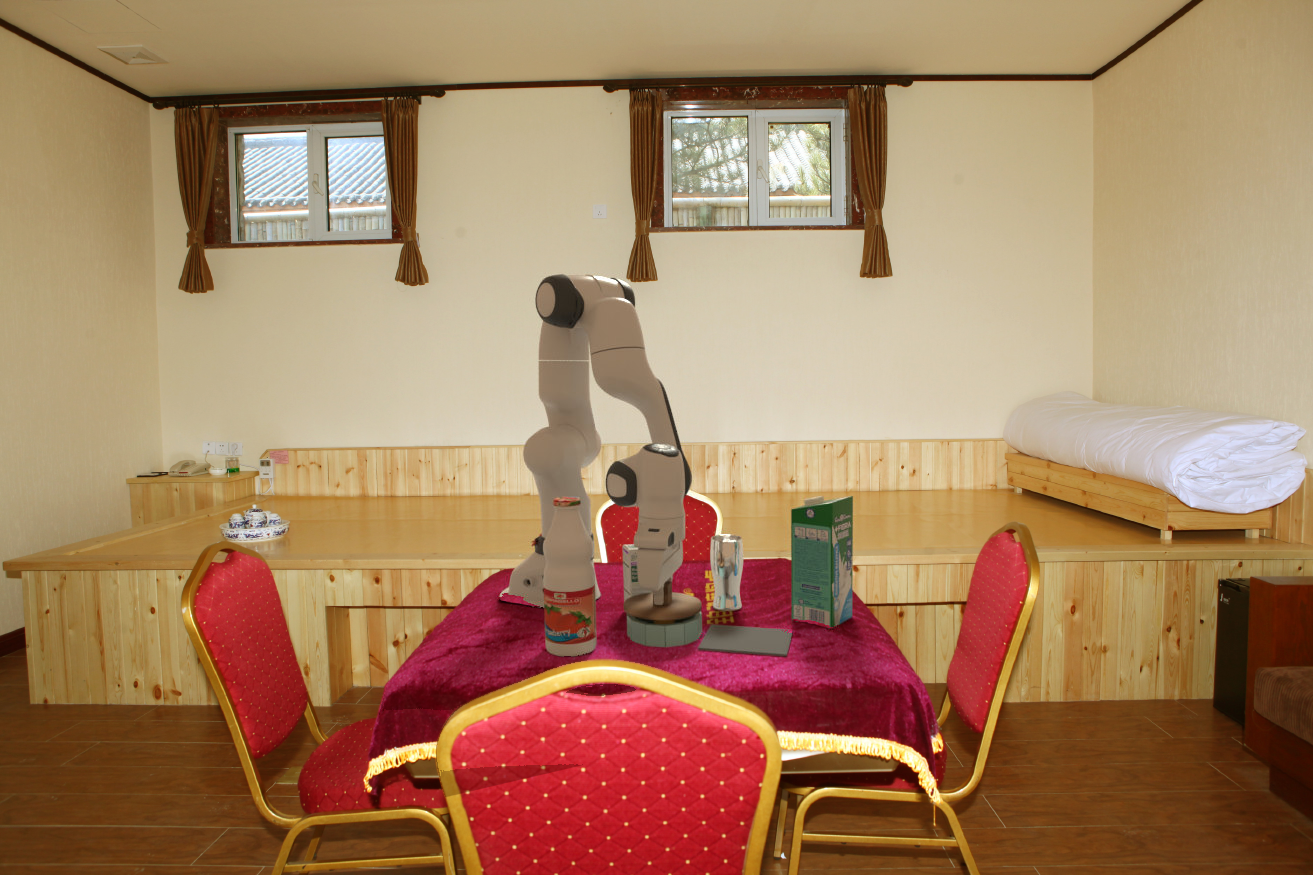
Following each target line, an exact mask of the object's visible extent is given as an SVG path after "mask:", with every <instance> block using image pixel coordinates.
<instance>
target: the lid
mask: <svg viewBox="0 0 1313 875" xmlns="http://www.w3.org/2000/svg"><path fill="white" fill-rule="evenodd" d="M663 591H664V594H665V602H664V603H663V604H662V605H656V604H654V595H653V592H652V593H644V594H639V595H635V596H632V597H630V598H628V599H627V600H625V602H623V610H624V612H625V613H626V615H627V614H629V615H631V616H634V617H637V618H642V619H648V620H676V619H683V618H687V617H691V616H693V615H695V614H697V613H699V612H700V611H701V612H702V609H703V607H702V601H701V600H700V599H699V598H698V597H695V596H693V595H691V594H687V593H682V592H673V581H672V582H671V581H666V582H665V583H664V587H663Z"/></svg>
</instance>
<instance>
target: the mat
mask: <svg viewBox="0 0 1313 875" xmlns="http://www.w3.org/2000/svg"><path fill="white" fill-rule="evenodd" d="M782 630H783V631H782ZM785 630H787V631H785ZM788 630H789V629H787V628H783V629H782V628H770V627H768V628H767V627H758V626H757V627H755V626H754V627H753V626H743V625H742V626H741V625H739V626H738V625H726V624H710V625H709V628H708V629H707V630H706V633H705V635H704V636H703V638H702V640H701V642H700V643H699V645H698V646H697V650H698V651H709V652H710V651H711V652H722V653H736V654H746V655H747V654H748V655H759V656H760V655H761V656H775V657H776V656H777V657H785V658H786V657H788V653H789V649H790V646H791V642H792V638H793V634H792V633H789V632H788ZM784 631H785V632H784ZM787 632H788V633H787ZM791 637H792V638H791Z"/></svg>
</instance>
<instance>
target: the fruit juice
mask: <svg viewBox="0 0 1313 875" xmlns="http://www.w3.org/2000/svg"><path fill="white" fill-rule="evenodd" d="M580 504H581V501H580V498H579V497H571V496H568V497H558V498H555V499H554V500H553V505H554V508H555V514H554V518H553V521H552V525H551V528H550V530H549V533H548V535H547V536H546V538H545V540H544V543H543V552H544V556H545V559H546V567H545V569H544V576H543V586H544V608H543V610H544V638H545V640H544V641H545V649H546V651H547V652H548V653H550V654H551V655H554V656H557V657H564V656H571V657H579V656H583V654H584V655H586V653H587V654H589V653H591V652H593V651H594V650H595V649H596V646H597V636H598V635H597V608H596V607H597V603H596V601H597V599H595V576H596V572H595V573H594V570H595V567H594V568H593V566H592V563H591V557H592V553H593V541H592V538H591V536H590V535H589V533H588V532H587V530H586V528H585V526H584V523H583V521H582V518H581V515H580V512H579V508H580ZM578 655H579V656H578Z"/></svg>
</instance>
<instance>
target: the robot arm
mask: <svg viewBox="0 0 1313 875" xmlns="http://www.w3.org/2000/svg"><path fill="white" fill-rule="evenodd" d="M534 299H535V308H536V312H537V313H538V315H539V318H540V319H541V321H542V324H541V328H540V335H539V344H538V396H539V399H540V401H541V402H542V404H543V406H544V409H545V413H546V417H547V418H546V419H547V420H548V426H545V427H542V428H541V429H539V430H537V431H536V432H534V433H533V434H532V435H530V437H529V438H528V439H527V440H526V442H525V443H524V445H523V452H522V456H523V462H524V464H525V465H526V467H527V468H528V471H530V472H531V473H532V476H533V478H534V482H535V485H536V488H537V493H538V497H539V504H540V517H541V518H540V521H541V533H540V534H539V535H538V536H537V537H535V538H534V540H532V541H531V543H532V544H531V547H534V552H532V553H531V554H530V555H529V556H528V557H526V558H525V559H524V560H523V561H522V562H520V563H519V564H518V565H516V567H515V568H514V569H513V570H512V572H511V574H510V579H509V585H508V587H506V588H505V589H503V590H502V591H501V593H500V594H499V597H502V596H503V595H502V594H504V593H508V594H509V595H515V596H521V597H524V598H523V600H524V601H526V602H528V603H531V604H534V605H537V606H540V607H539V608H541V607H543V609H544V586H543V576H544V569H545V567H546V559H545V556H544V552H543V543H544V540H545V538H546V536H547V535H548V533H549V530H550V528H551V525H552V521H553V518H554V514H555V508H554V505H553V500H554V499H555V498H558V497H568V496H571V497H579V498H580V501H581V504H580V508H579V512H580V515H581V518H582V521H583V523H584V526H585V528H586V530H587V532H588V533H589V535H590V536H591V538H592V541H593V553H592V557H591V563H592V566H593V568H594V573H595V574H596V570H595V562H594V559H595V540H594V533H593V531H592V507H591V506H592V504H591V503H592V502H591V498H590V496H589V494H588V493H587V492H586V491H587V490H586V489H585V485H584V480H583V477H582V469H585V468H587V467H589V466H590V465H591V464H592V463H593V462H594V461H595V460H596V459H597V457H598V456H599V454H600V453H601V449H602V439H601V436H600V434H599V432H598V431H597V429H596V428H597V427H596V424H595V420H594V419H595V418H594V414H593V410H592V403H591V394H590V364H591V371H592V375H593V378H594V381H595V383H596V384H597V386H598V387H599V388H600V389H601V390H602V391H603V392H604V393H605V394H607V395H609V396H610V397H612V398H613V399H617V400H619V401H623V402H624V403H626V404H629V405H632V406H633V407H635V408H636V409H637V410H638V411H639V412H641V414H642V415H643V417H644V418H645V422H646V424H647V428H648V431H649V435H650V439H651V443H648V444H645V445H643V446H642V447H641V448H640V450H639V451H638V452H637V453H635V454H633V455H631V456H629V457H626V458H622V459H619V460H615V461H614V462H612V464H611V465H610V466H609V468H608V470H607V471H606V476H605V490H606V494H607V496H608V497H609V499H610V500H611V501H612V503H614V504H615V505H616V506H618V507H623V508H633V507H638V524H637V526H638V527H637V531H636V533H635V534H634V537H633V544H634V547H635V548H638V550H637V574H638V583H639V586H640V589H641V590H649V591H652V592H653V595H654V604H656V605H662V604H663V603H664V602H665V594H664V591H663V587H664V583H665V582H666V581H671V582H672V583H673V578H674V576H673V575H674V574H675V572H676V571H677V570H678V569H679V568H680V567H681V566H682V564H683V559H684V550H683V549H684V547H683V541H684V540H685V539H686V511H685V508H684V498H685V497H686V496H687V495H688V493H689V491H690V489H691V486H692V482H693V475H692V470H691V468H690V465H689V463H688V460H687V459H686V456H685V453H684V451H683V448H682V444H681V442H680V437H679V433H678V429H677V427H676V426H677V425H676V422H675V419H674V416H673V415H674V414H673V411H672V408H671V404H670V400H669V397H668V394H667V391H666V389H665V386H664V384H663V383H662V382H661V380H660V379H658V378H657V376H656V375H655V374H654V372H653V370H652V368H651V367H650V364H649V360H648V358H647V353H646V347H645V340H644V334H643V329H642V327H641V326H642V325H641V323H640V319H639V315H638V313H637V310H636V296H635V293H634V290H633V288H632V287H631V286H630V284H629V283H627V282H625V281H623V280H622V279H619V278H615V277H605V276H602V275H601V276H600V275H595V274H594V275H593V274H585V275H584V274H580V275H579V274H573V275H570V274H569V275H566V274H563V273H562V274H554V275H549V276H546V277H545V278H543V279H542V280H541V281H540V283H539V285H538V287H537V289H536V293H535V298H534ZM601 595H602V594H601V591H600V589H599V585H598V581H597V576H596V575H595V599H596V600H597V599H599V598H600V597H601Z"/></svg>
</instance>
